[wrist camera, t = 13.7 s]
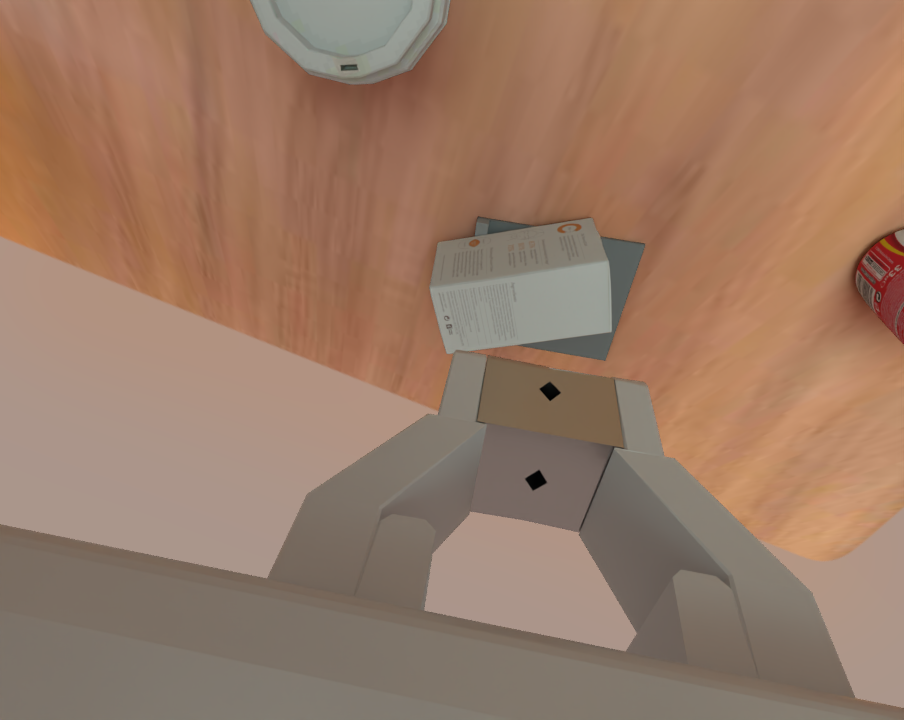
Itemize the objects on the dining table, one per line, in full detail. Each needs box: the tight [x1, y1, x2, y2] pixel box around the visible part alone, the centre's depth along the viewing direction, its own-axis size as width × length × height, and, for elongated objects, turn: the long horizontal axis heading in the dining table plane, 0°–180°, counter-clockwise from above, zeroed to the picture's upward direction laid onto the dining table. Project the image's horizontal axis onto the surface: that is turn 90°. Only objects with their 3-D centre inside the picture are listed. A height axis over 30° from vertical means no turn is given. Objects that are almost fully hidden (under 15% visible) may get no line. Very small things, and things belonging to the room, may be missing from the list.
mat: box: [475, 217, 645, 361], centre depth 49 cm, size 14×12×1 cm
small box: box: [429, 218, 612, 354], centre depth 44 cm, size 8×6×13 cm
